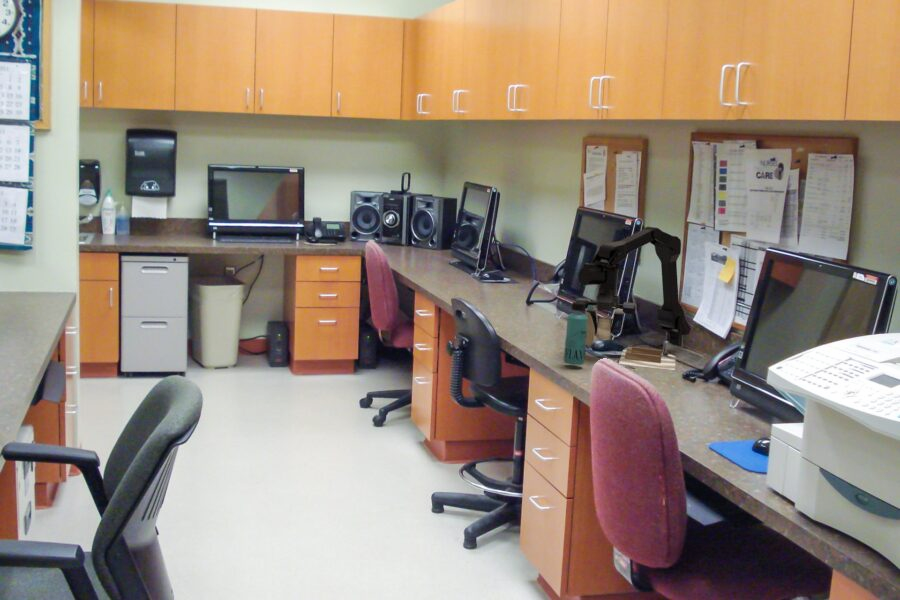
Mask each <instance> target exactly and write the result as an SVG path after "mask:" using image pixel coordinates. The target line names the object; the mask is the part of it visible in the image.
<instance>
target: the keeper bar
mask: <svg viewBox="0 0 900 600" xmlns="http://www.w3.org/2000/svg"><path fill="white" fill-rule="evenodd" d="M668 354H669V355H673V356H676V358H679V359H681V360H683V361H686V362H688V363H691V364H694V365H696V366H698V367H704V365H705V355H703V354H700V353H699V352H695V351H692V350H690V349H687V348H684V347H683V346H682V347H680V346H677V345H674V344H672V343H669V341H666V340H663V346H662V355H668Z"/></svg>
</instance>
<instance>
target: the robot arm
mask: <svg viewBox="0 0 900 600" xmlns="http://www.w3.org/2000/svg"><path fill="white" fill-rule="evenodd" d="M648 244H651V245H653V246H654V250H655V254H656V256H657V258H658V259H659V261H660V263H661V265H660V266H661V267H660V268H661V280H662V281H661V282H662V283H661V285H662V297H663V298H662V299H663V303H662V305H661V307H660V308H657V315H658V316H657V321H659V324H660V328H661V331H665V332H666V333H665V341H669V343H672V344H674V345H677V346H680V347H682V348H683V342H684V336H687V335H690V333H691V330H692V329H691V326H690V325H689V323H688V321H687V320H686V315H685V311H684V310H685V309H683V307H682V305H681V304H680V301H679V286H678V285H679V284H678V269H677V261H678V259H679V257H680V256H681V253H682V252H681V249H682V240H681V239H680V237H678V236H676V235H671V234H669V233H667V232H665V231H663V230H661V228H659V227H655V226H646V227H644V228H643V229H641V230H639V231H637V232H635V233H633V234H631V235H629V236H627V237H625V238H623V239H621V240H617V241H610V242H607V243H602V244H601V245H600V246H599V249H598V251H596V254H595V255H594V257H593V258H592V260H591V262H590V263H588V262H586V263H583V267H582V268H580V270H579V273H578V274H577V275H578V280H579V283H580V284H581V286H598V290H597V296H596V301H591V298H587V297H586V298H585V297H578V299H577V300H575V302H581V303H585V310H586V308H587V312H589V313H590V315H591V317H592V319H593V323H594V327H595V333H597V324H598V311H607V312H612V311H613V310H614V312H613V318H612V324H611V335H612V334H613V332H614V329H615V327H616V325H617V322H618V320H619V318H620V317H621V316H622V317H623V316H624V315H625V314H626V315H635V314H636V313H637V304H636V303H635V302H626V301H624V302H623V304H620V295H617V288H618V281H619V280H618V278H619V277H618V276H619V271H624V267H623V266H622V265H621V264H620V263H622V262H623V261H624V260H626V258H627V257H628V255H629V254H630V253H632V252H633V251H636V250H638V249H639V248H641V247H643V246H645V245H648ZM596 308H597V309H596Z"/></svg>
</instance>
